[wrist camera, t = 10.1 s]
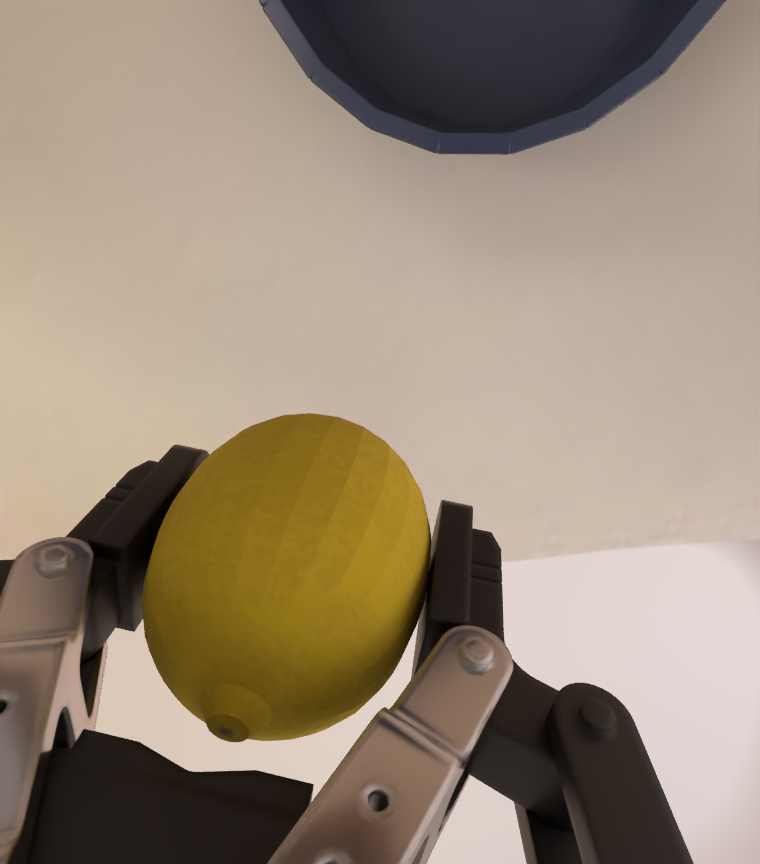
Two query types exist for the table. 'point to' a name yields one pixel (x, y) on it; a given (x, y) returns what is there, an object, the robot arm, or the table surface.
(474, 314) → the table surface
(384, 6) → the pot
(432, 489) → the table surface
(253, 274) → the table surface
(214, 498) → the lemon
